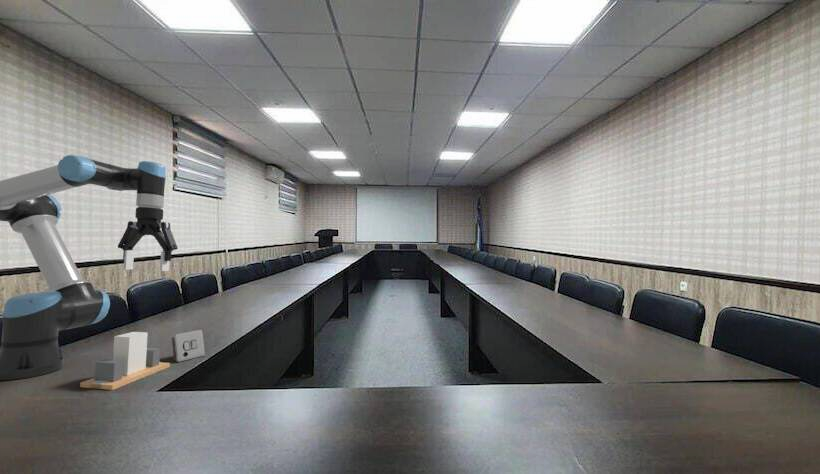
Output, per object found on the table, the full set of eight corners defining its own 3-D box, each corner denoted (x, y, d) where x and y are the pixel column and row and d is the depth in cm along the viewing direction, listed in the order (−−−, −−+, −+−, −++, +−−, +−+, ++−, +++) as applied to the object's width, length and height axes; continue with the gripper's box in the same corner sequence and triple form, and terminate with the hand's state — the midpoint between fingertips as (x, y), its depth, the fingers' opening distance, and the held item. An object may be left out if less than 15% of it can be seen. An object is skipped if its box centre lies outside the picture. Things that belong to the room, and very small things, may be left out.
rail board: (80, 387, 94) (81, 363, 94) (142, 364, 113) (143, 345, 113) (112, 389, 93) (113, 366, 93) (169, 366, 112) (170, 347, 112)
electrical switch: (177, 363, 116) (177, 334, 117) (169, 361, 118) (169, 334, 119) (205, 356, 124) (205, 329, 125) (196, 355, 126) (196, 329, 127)
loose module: (112, 374, 100) (114, 336, 101) (131, 367, 106) (133, 331, 107) (127, 375, 100) (129, 337, 100) (145, 368, 106) (147, 332, 106)
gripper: (191, 209, 120) (188, 270, 119) (127, 208, 123) (124, 268, 122) (174, 206, 112) (170, 272, 111) (106, 205, 115) (102, 269, 114)
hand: (146, 270), depth 117 cm, fingers open, 13 cm apart
